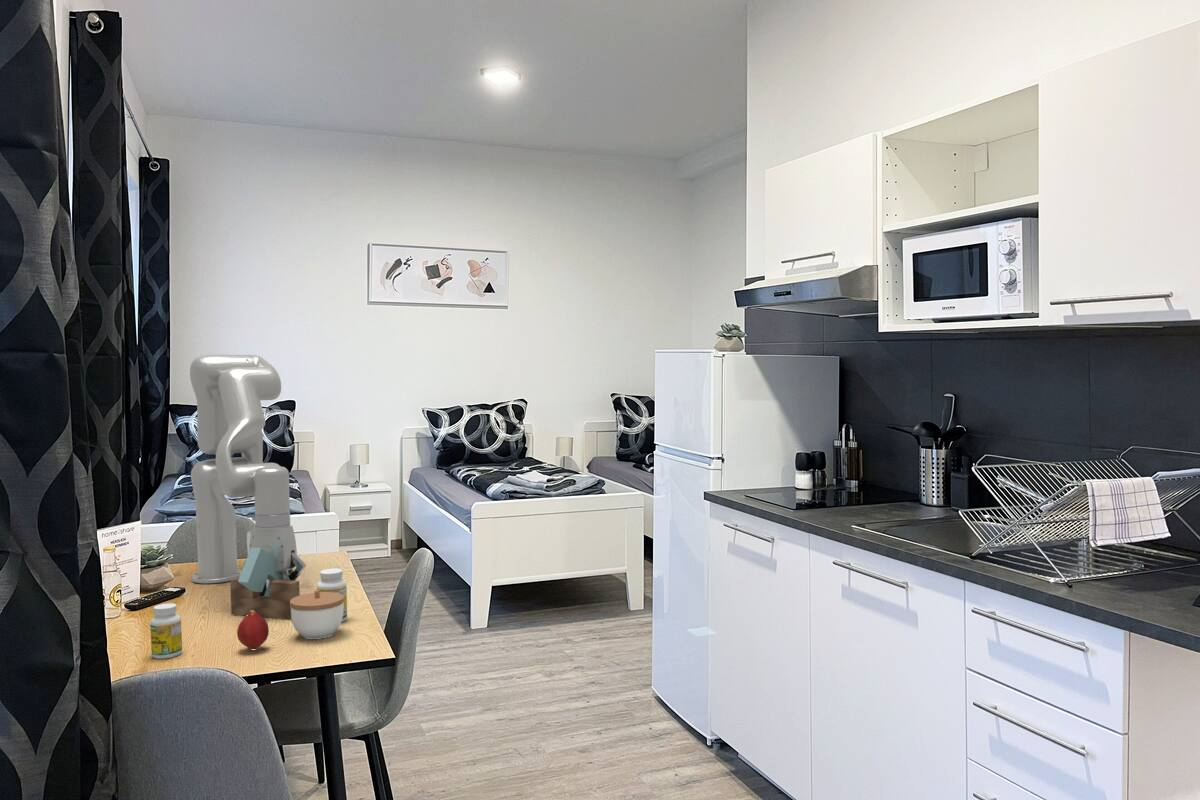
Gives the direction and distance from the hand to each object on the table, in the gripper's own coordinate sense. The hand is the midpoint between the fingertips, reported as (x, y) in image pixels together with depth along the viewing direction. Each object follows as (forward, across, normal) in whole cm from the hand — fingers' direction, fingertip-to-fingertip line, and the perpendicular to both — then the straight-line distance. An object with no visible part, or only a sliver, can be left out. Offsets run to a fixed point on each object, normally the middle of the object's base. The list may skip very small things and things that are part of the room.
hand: (275, 597), depth 203 cm
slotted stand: (+3, +1, -6) cm, 6 cm away
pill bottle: (+3, +18, -6) cm, 19 cm away
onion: (+3, +14, -27) cm, 30 cm away
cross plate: (-2, +1, -6) cm, 6 cm away
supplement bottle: (+3, -1, -33) cm, 33 cm away
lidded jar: (+3, +21, -15) cm, 26 cm away
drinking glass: (+3, -13, +13) cm, 18 cm away
